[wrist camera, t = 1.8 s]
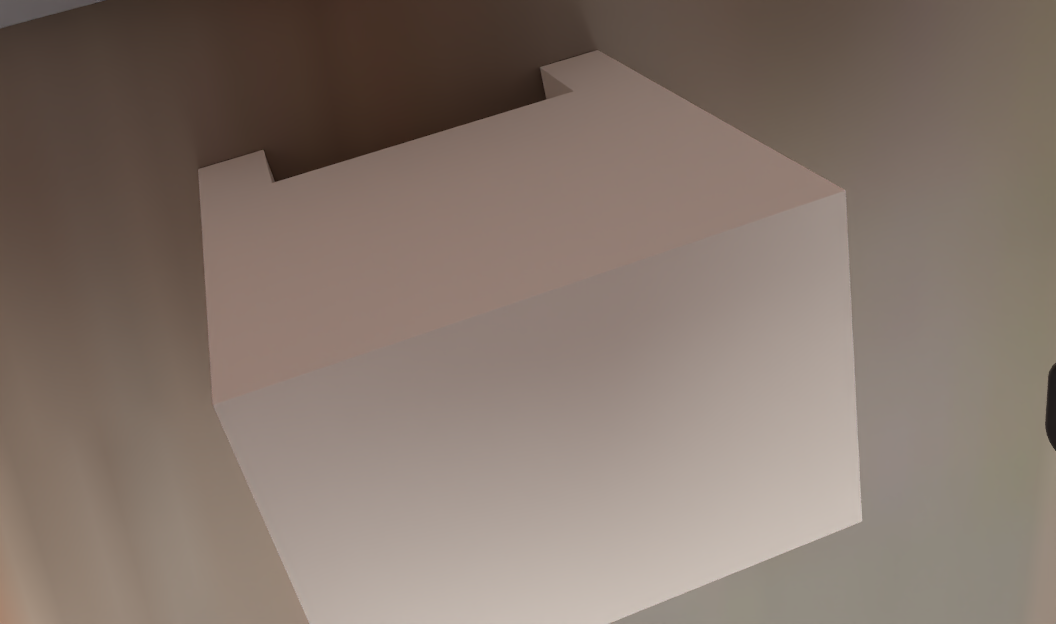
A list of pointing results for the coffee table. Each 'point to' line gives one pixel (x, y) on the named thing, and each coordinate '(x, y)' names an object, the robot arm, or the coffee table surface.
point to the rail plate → (35, 9)
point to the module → (535, 359)
